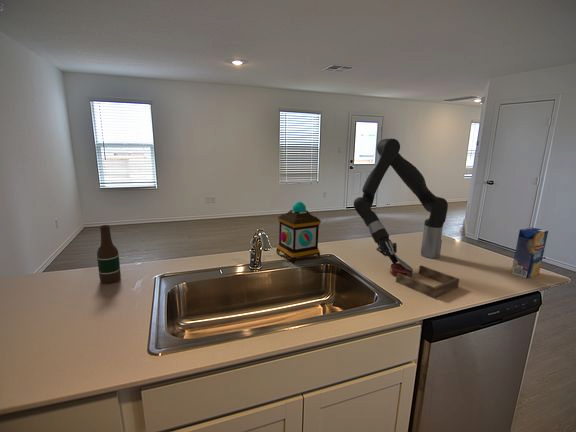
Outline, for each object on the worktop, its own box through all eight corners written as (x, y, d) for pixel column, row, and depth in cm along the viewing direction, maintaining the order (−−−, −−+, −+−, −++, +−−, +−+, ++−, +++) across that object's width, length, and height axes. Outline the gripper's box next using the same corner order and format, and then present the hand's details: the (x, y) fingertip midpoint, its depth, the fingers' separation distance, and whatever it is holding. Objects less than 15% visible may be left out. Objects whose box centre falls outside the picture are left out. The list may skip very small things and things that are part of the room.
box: (395, 281, 134) (396, 273, 133) (420, 273, 144) (421, 265, 143) (434, 298, 119) (435, 289, 119) (457, 287, 130) (459, 278, 129)
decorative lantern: (303, 248, 176) (305, 197, 170) (323, 259, 160) (326, 203, 153) (272, 253, 166) (273, 199, 160) (291, 265, 150) (293, 206, 143)
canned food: (393, 276, 148) (399, 257, 149) (413, 283, 141) (419, 263, 142) (383, 271, 141) (389, 251, 142) (403, 278, 133) (410, 257, 135)
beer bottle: (125, 278, 131) (120, 224, 125) (109, 285, 123) (103, 229, 118) (111, 275, 133) (105, 222, 128) (95, 282, 126) (88, 226, 121)
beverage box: (538, 274, 146) (548, 230, 141) (527, 278, 141) (536, 233, 136) (522, 269, 152) (531, 227, 147) (511, 273, 147) (519, 229, 142)
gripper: (373, 229, 144) (392, 261, 137) (391, 226, 152) (409, 256, 144) (364, 237, 150) (381, 268, 143) (381, 233, 157) (399, 263, 150)
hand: (395, 262), depth 144 cm, fingers closed
